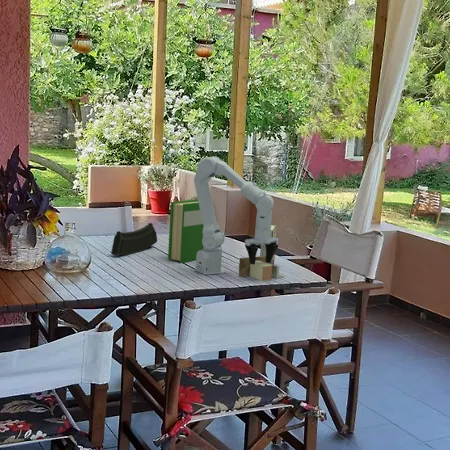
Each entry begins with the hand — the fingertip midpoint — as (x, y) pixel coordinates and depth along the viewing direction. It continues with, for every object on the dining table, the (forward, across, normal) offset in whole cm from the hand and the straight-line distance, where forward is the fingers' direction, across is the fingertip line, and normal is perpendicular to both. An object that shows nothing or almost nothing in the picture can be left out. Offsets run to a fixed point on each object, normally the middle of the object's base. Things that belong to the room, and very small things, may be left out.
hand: (260, 263), depth 257 cm
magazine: (+6, -22, +58) cm, 62 cm away
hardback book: (+6, -8, +38) cm, 39 cm away
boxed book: (+6, 0, 0) cm, 6 cm away
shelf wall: (+6, +1, +5) cm, 7 cm away
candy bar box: (+6, +15, +15) cm, 22 cm away
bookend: (+6, +8, +1) cm, 10 cm away
